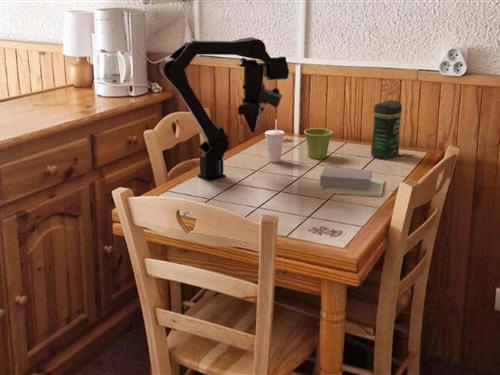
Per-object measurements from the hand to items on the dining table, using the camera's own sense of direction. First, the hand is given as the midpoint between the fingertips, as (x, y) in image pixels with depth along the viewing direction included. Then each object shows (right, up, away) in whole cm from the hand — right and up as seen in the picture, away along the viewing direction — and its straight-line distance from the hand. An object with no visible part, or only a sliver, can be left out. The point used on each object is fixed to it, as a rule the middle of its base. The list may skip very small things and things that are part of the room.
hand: (253, 132), depth 208 cm
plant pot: (+22, -7, +20) cm, 30 cm away
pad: (+30, -17, -10) cm, 35 cm away
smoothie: (+7, -8, +16) cm, 19 cm away
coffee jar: (+44, -6, +21) cm, 50 cm away
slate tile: (+20, -14, -8) cm, 26 cm away
